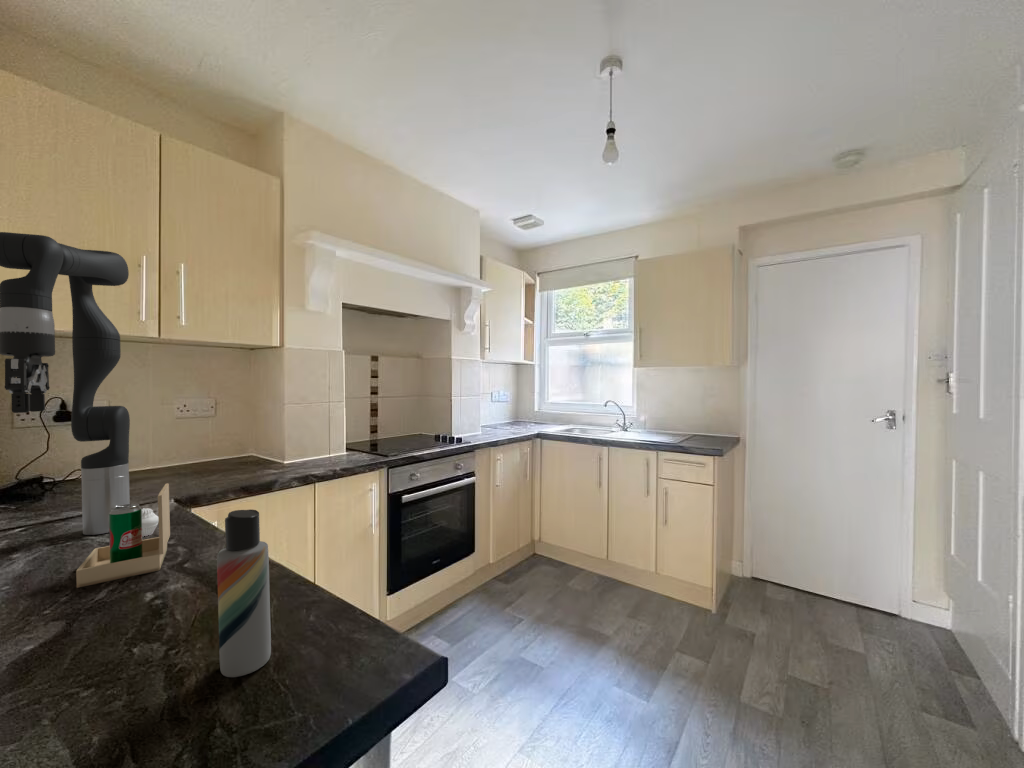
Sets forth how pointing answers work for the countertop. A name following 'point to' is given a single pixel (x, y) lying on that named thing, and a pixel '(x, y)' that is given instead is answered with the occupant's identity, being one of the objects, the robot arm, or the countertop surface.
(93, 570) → the mailer box
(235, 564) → the lotion bottle
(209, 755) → the countertop surface
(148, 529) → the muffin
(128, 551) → the soda can
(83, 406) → the robot arm
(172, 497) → the countertop surface
